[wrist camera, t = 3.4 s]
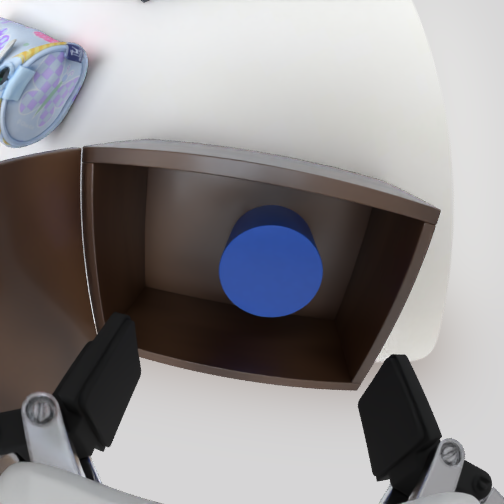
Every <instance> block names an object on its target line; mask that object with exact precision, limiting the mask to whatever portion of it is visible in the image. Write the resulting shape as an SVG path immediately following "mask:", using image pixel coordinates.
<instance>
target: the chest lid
mask: <svg viewBox="0 0 504 504" xmlns="http://www.w3.org/2000/svg"><path fill="white" fill-rule="evenodd" d="M80 166H81V148H73V147H72V148H65V149H59V150H52V151H47V152H41V153H36V154H31V155H26V156H21V157H17V158H12V159H8V160H4V161H0V413H1V412H6V411H11V410H15V409H20V408H21V406H22V403H23V401H24V399H25V398H26V397H27V396H28V395H30V394H31V393H34V392H37V391H44V392H47V393H49V394H51V395H52V394H53V392H54V391H55V389H56V388H57V386H58V385H59V383H60V382H61V380H62V379H63V377H64V375H65V374H66V372H67V371H68V369H69V368H70V366H71V365H72V364H73V362H74V361H75V359H76V358H77V356H78V355H79V353H80V352H81V350H82V349H83V348H84V346H85V345H86V344H87V343H88V342H89V341H93V340H94V339H95V337H96V336H97V334H96V329H95V324H94V320H93V315H92V309H91V304H90V298H89V292H88V286H87V279H86V271H85V263H84V254H83V243H82V229H81V209H80Z"/></svg>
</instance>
